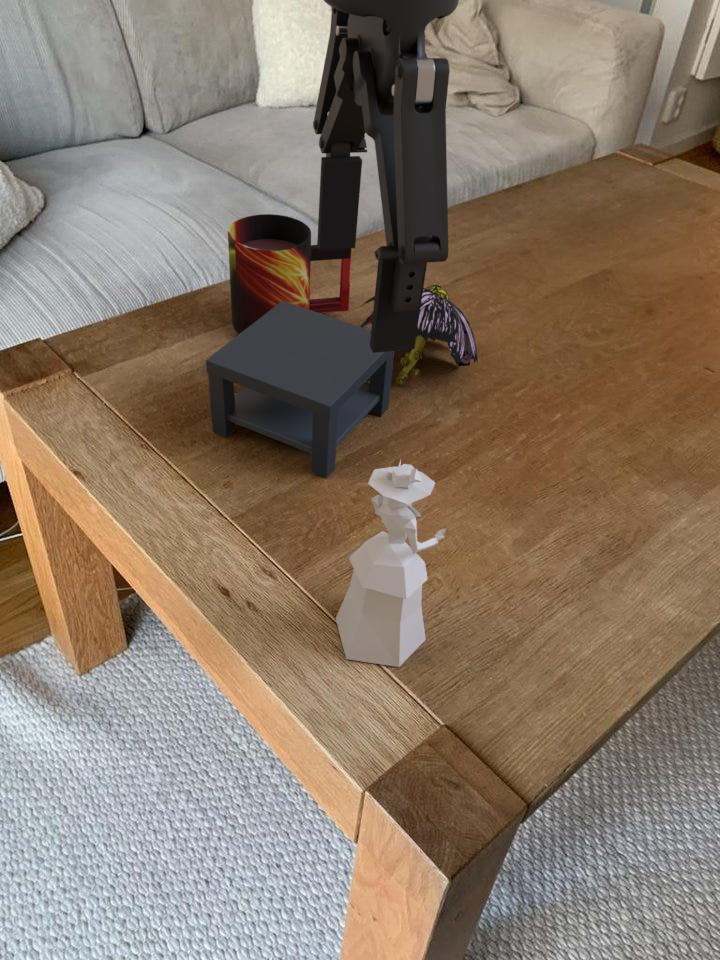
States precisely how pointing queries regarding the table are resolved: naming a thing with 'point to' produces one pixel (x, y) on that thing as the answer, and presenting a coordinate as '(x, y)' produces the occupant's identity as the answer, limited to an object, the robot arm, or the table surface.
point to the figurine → (388, 575)
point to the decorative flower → (437, 331)
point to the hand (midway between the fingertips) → (361, 293)
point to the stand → (299, 381)
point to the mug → (277, 268)
